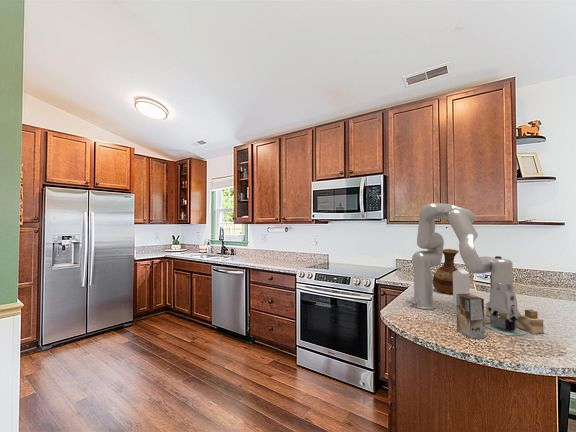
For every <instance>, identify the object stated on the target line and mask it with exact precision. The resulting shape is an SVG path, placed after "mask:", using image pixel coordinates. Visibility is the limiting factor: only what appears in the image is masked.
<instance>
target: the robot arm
mask: <svg viewBox="0 0 576 432" xmlns="http://www.w3.org/2000/svg"><path fill="white" fill-rule="evenodd" d="M435 219H436V220H437V219H440V220H444V219H445V220H448V223H449V225H450V226H451V228H452V230H453V232H454V234H455V235H456V237H457V239H458V242H459V243H458V247H459V249H458V251H459V255H460V258H461V260H462V262H463V263H464V265H465V267H466V269H468V271H470V273H473V274H478V275H479V274H480V275H481V274H486V273H491V272H492V288H491V287H490V292H489V301H488V302H486V304H485V306H486V305H487V307H488V310H489V311H490V314H491V315H495V314H498V312H500V313H503V314H506V316H507V318H508V321H507V330H509V331H512V330H516V329H515V321H516V320H517V319H518V318H519V317H520V316H521V314H520V313H519V312H520V311H519V310H518V308H519V307H518V300H517V295H516V292H515V291H514V290H515V286H514V278H513V277H514V273H513V271H514V270H513V269H514V268H513V266H514V265H513V262H512V260H510V259H506V258H502V259H496V258H495V257H491V256H479V255H478V253H477V251H476V249H475V241H476V239H477V237H478V236H479V234H478V232H477V230H476V229H475V227H474V225H473V223H474V222H475V219H476V215H475V213H474V212H473V211H472V210H470V209H468V208H463V207H461V206H460V207H459V206H457V205H453V204H451V203H441V202H440V203H439V202H438V203H437V202H431V203H428V204H424V205H423V206H422V207H421V208H420V210H419V213H418V228H417V237H416V245H417V246H418V248H419V249H423V250H419V251H416V252H414V254H413V255H412V257H411V258H412V259H411V262H412V268H413V278H414V279H413V282H414V283H413V286H414V287H413V288H414V289H413V290H414V291H413V295H414V297H412V298H411V299H406V301H405V302H406V303H407V304H410V305H411V306H412V307H414V308H416V309H417V308H418V309H422V310H435V309H437V305H436V304H435V303H434V295H433V289H434V286H433V272H432V270H431V267H432V268H433V267H434V268H435V267H438V266H439V265H441V263H442V261H443V255H444V254H443V249H444V245H445V241H444V237H443V235H441V234H440V233H439V232H436V223H435ZM514 314H515V315H514ZM510 315H511V317H510Z"/></svg>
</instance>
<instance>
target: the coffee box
mask: <svg viewBox="0 0 576 432" xmlns="http://www.w3.org/2000/svg"><path fill="white" fill-rule="evenodd" d="M484 299H485V298H482V297H479V296H476V295H472V294H456V305H455V306H456V331H457V332H459V333H462V334H463V335H465V336H466V337H469V338H471V339H485V330H486V329H485V326H484V325H485V302H484V301H485V300H484Z"/></svg>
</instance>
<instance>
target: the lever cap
mask: <svg viewBox="0 0 576 432" xmlns="http://www.w3.org/2000/svg"><path fill="white" fill-rule="evenodd" d="M507 321H508V318H507V316H506V315H502V314H495V315H490V318H489V325H490V324H492V325H495V326H497V327H500V328H502V329H507ZM516 329H517V328H516V321H515V330H516Z"/></svg>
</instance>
